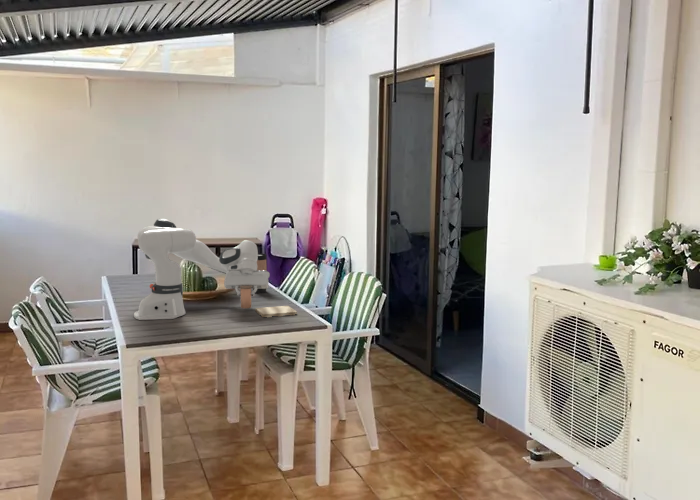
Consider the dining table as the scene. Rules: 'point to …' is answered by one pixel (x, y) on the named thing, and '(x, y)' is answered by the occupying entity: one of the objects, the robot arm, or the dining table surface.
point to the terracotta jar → (245, 296)
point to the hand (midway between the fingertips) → (245, 295)
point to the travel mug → (261, 268)
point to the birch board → (275, 311)
